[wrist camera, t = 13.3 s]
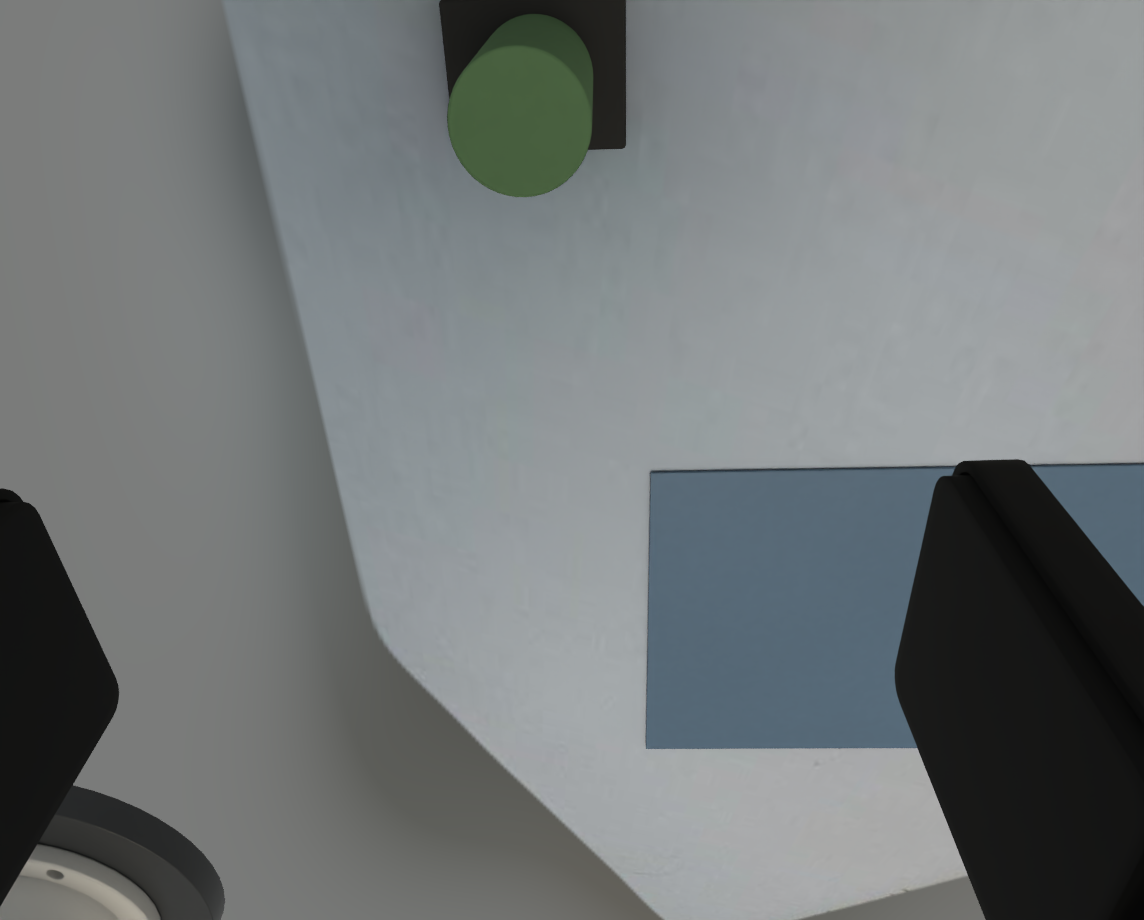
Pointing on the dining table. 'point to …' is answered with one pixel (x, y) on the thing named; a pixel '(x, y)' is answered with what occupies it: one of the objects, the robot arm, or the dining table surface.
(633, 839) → the dining table surface
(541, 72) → the stamp
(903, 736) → the napkin
